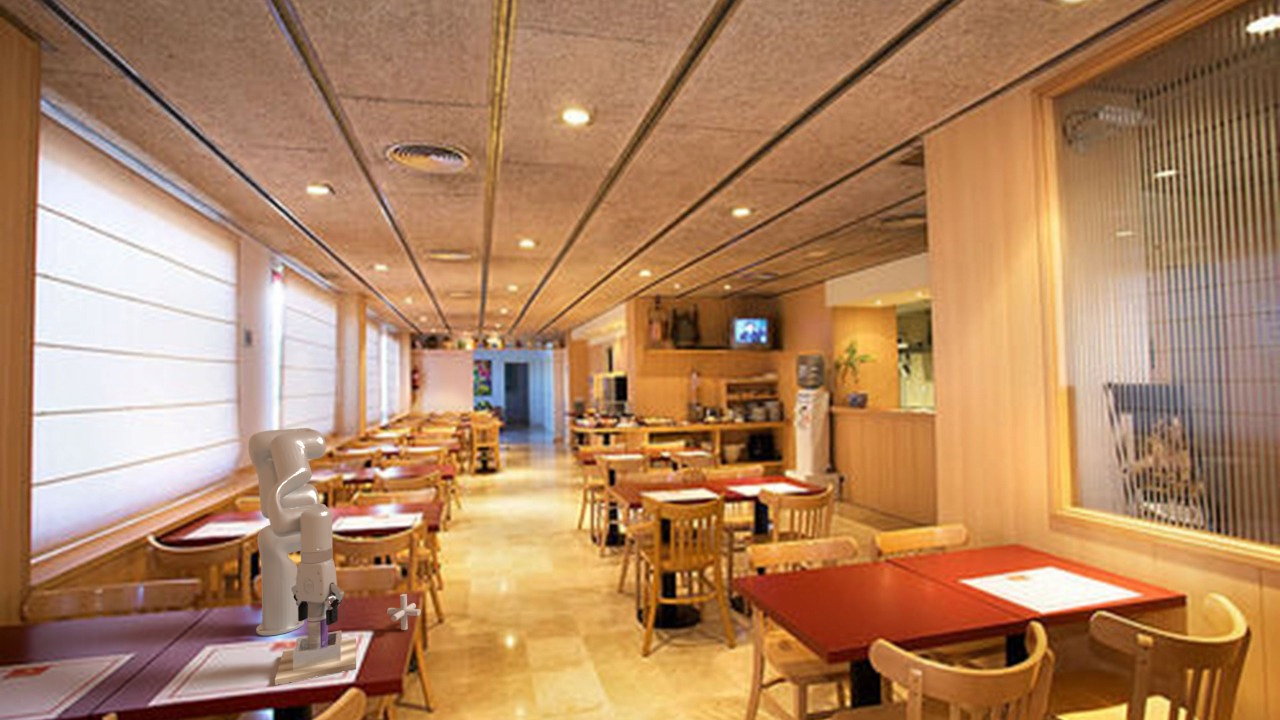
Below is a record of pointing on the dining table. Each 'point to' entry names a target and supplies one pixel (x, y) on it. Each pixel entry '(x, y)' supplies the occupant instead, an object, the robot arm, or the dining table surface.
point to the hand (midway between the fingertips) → (317, 621)
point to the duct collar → (317, 652)
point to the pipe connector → (403, 611)
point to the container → (317, 625)
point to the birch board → (290, 675)
